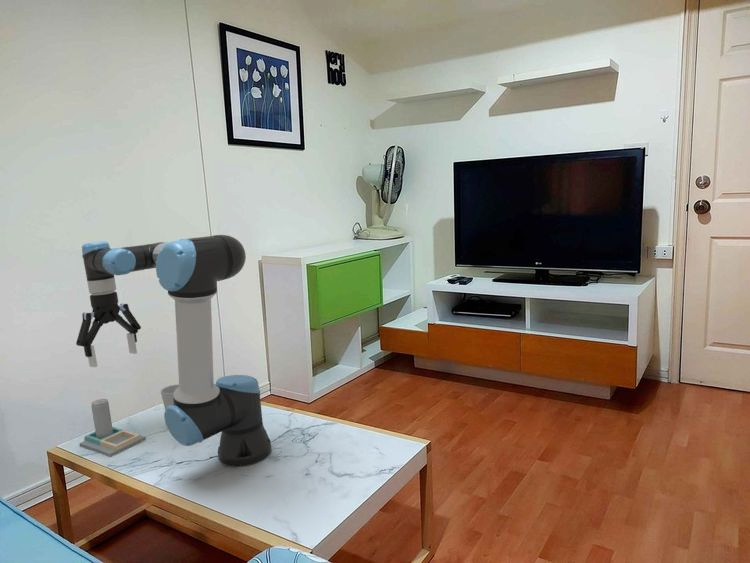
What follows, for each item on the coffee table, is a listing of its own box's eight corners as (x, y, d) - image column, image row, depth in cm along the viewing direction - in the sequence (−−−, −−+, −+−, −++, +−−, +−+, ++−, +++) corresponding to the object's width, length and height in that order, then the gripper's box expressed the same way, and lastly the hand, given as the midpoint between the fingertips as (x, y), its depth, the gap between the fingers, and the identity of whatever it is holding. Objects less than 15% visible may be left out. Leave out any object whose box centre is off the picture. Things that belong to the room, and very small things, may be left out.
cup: (166, 420, 183) (161, 386, 181) (190, 415, 186) (186, 382, 183) (164, 429, 176) (159, 395, 174) (190, 425, 178) (185, 390, 176)
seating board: (146, 439, 169) (144, 432, 169) (110, 457, 159) (109, 449, 159) (115, 430, 178) (114, 423, 177) (79, 446, 168) (78, 438, 167)
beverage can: (106, 441, 168) (100, 405, 165) (93, 440, 168) (87, 404, 166) (116, 434, 172) (111, 398, 170) (103, 433, 173) (98, 398, 171)
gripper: (131, 284, 176) (140, 347, 180) (55, 300, 155) (67, 371, 159) (146, 285, 173) (155, 349, 176) (70, 301, 151) (82, 373, 155)
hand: (114, 359), depth 167 cm, fingers open, 13 cm apart
